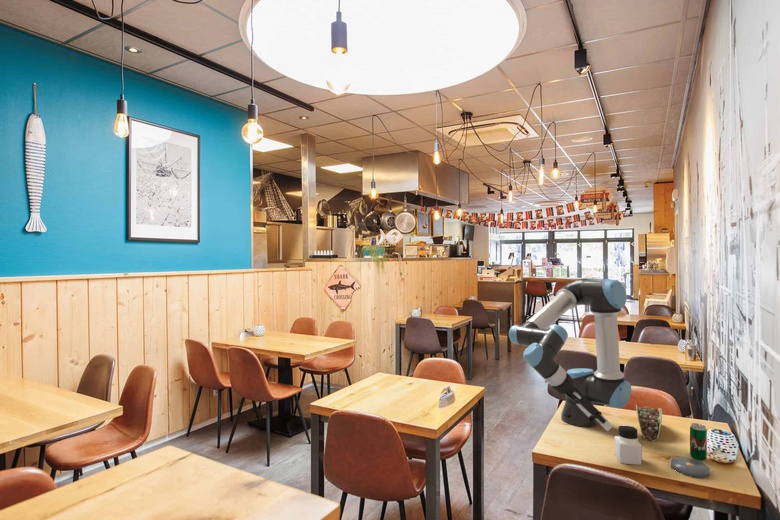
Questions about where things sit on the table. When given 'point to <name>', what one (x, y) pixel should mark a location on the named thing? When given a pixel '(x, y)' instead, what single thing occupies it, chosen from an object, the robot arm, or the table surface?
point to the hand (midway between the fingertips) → (600, 421)
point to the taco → (649, 422)
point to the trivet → (690, 467)
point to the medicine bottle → (628, 446)
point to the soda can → (698, 441)
